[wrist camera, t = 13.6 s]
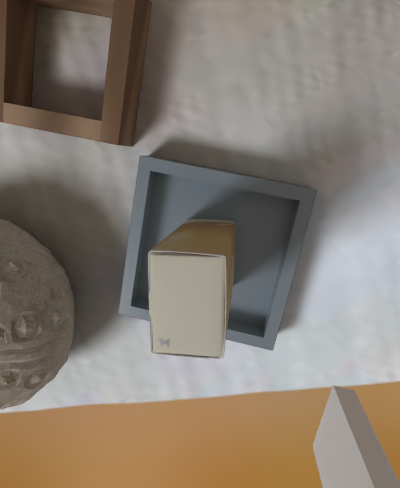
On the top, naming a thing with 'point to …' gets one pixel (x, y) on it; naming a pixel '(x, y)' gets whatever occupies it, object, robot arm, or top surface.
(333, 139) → the top surface
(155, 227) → the tray
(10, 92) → the socket block
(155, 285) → the skincare box
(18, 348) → the decorative shell
